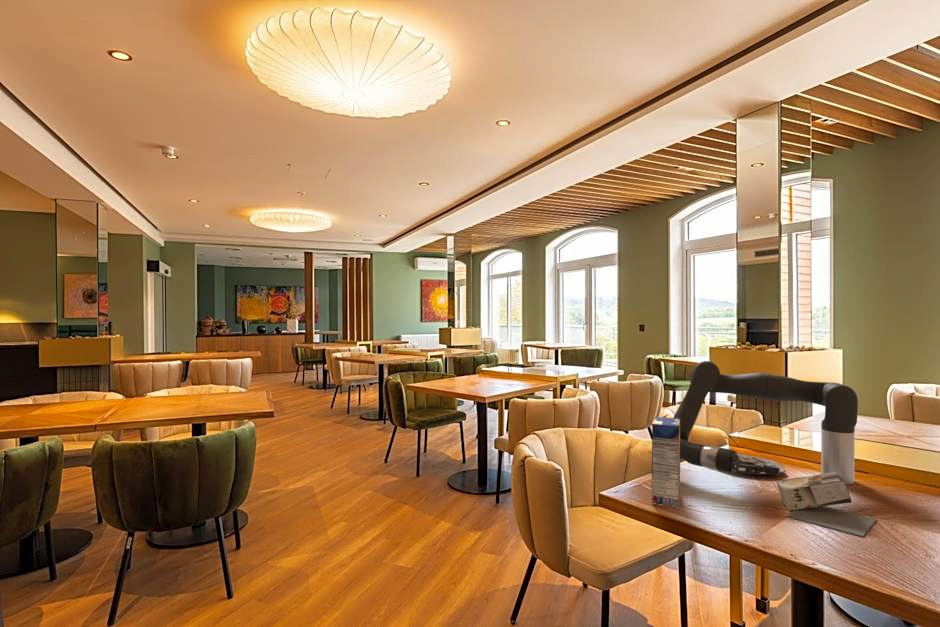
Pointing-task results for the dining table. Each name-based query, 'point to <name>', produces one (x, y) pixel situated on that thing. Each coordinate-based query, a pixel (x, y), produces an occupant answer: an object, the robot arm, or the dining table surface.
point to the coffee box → (814, 491)
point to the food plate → (768, 462)
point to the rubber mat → (834, 519)
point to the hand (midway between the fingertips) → (778, 471)
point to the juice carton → (666, 461)
